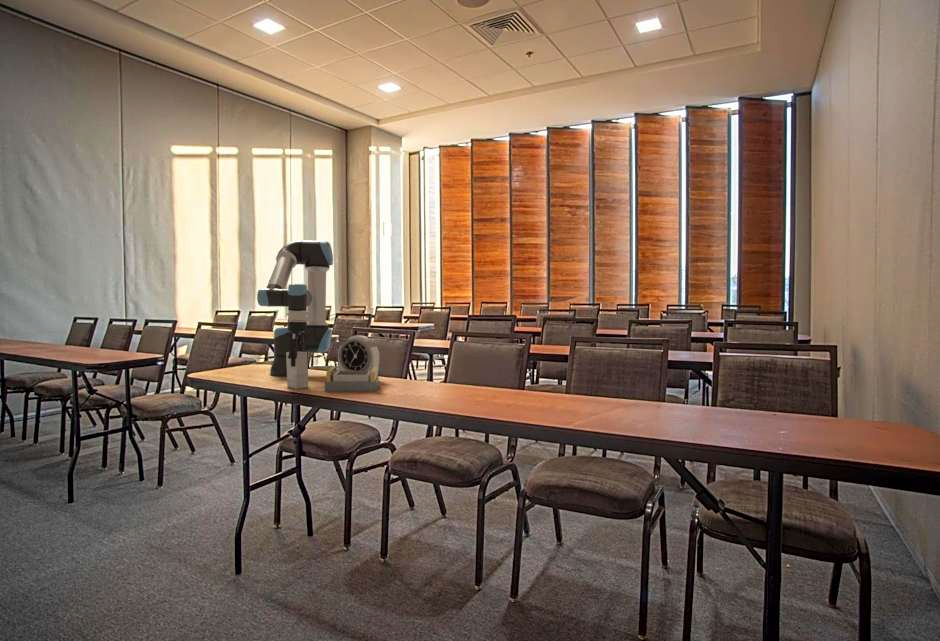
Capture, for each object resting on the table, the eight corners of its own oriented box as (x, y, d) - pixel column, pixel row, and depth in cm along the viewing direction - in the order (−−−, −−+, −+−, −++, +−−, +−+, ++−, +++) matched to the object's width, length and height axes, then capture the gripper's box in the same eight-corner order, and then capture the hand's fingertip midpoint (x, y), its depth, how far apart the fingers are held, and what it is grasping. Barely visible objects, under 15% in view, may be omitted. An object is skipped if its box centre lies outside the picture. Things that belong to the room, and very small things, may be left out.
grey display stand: (330, 388, 242) (331, 366, 241) (378, 388, 244) (378, 366, 243) (324, 394, 226) (325, 371, 225) (375, 394, 228) (376, 371, 227)
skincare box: (308, 387, 235) (308, 352, 234) (295, 389, 230) (295, 352, 230) (299, 385, 241) (299, 350, 240) (285, 386, 236) (285, 351, 236)
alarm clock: (336, 380, 257) (336, 335, 256) (345, 377, 265) (345, 334, 264) (372, 382, 252) (372, 337, 251) (380, 379, 260) (381, 335, 259)
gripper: (294, 320, 246) (294, 369, 247) (280, 322, 222) (280, 376, 222) (312, 320, 247) (311, 369, 248) (300, 322, 222) (300, 376, 223)
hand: (297, 372), depth 235 cm, fingers open, 13 cm apart
